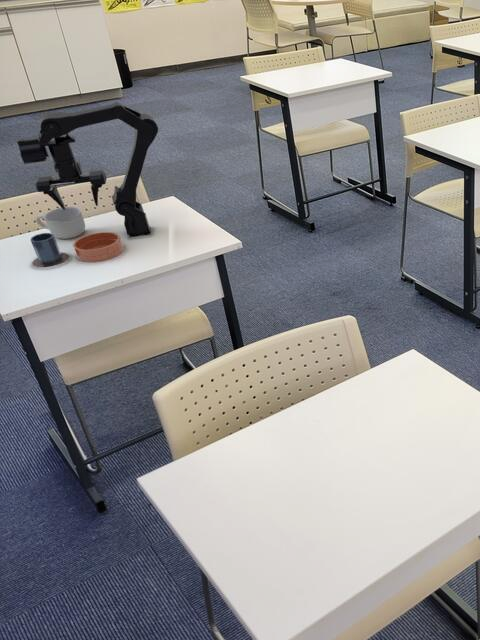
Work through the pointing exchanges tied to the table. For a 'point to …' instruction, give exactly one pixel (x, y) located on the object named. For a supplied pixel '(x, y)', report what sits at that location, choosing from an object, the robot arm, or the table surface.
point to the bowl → (98, 247)
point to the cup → (46, 248)
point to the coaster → (64, 258)
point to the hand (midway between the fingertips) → (81, 207)
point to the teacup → (63, 222)
